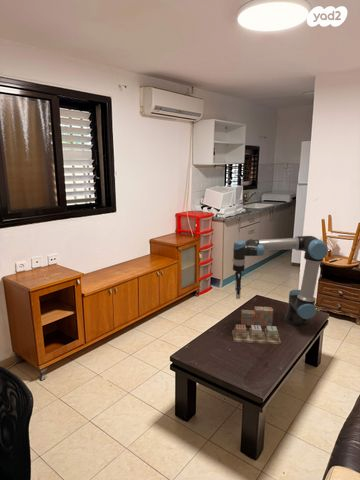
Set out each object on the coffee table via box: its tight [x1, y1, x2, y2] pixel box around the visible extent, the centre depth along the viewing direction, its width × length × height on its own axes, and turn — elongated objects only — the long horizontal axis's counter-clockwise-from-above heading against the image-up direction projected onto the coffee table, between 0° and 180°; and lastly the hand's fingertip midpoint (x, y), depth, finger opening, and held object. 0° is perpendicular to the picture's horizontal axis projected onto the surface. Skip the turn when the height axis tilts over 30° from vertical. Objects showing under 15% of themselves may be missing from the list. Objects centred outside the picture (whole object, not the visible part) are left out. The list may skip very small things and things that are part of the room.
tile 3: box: [235, 324, 247, 333], centre depth 215 cm, size 6×6×4 cm
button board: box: [231, 326, 282, 345], centre depth 214 cm, size 30×12×5 cm, turn 84°
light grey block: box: [265, 325, 279, 335], centre depth 213 cm, size 6×6×4 cm
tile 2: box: [250, 325, 263, 334], centre depth 214 cm, size 6×6×4 cm
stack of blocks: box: [240, 306, 274, 327], centre depth 233 cm, size 21×6×12 cm, turn 84°
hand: (237, 294), depth 220 cm, fingers open, 13 cm apart
